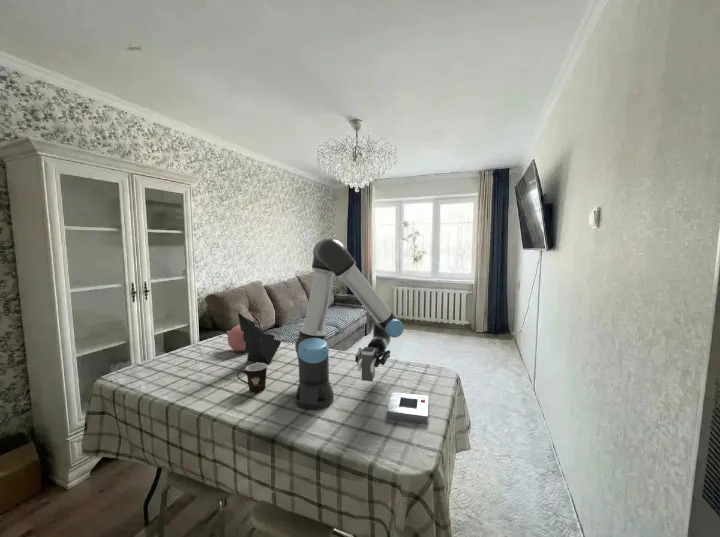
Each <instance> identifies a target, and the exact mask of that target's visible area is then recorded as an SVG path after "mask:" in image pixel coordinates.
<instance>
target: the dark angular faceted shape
mask: <svg viewBox="0 0 720 537" xmlns="http://www.w3.org/2000/svg"><path fill="white" fill-rule="evenodd" d="M237 315H238V322H239V325H240V328H241V331H242V332H244V333H243V338H244V342H246V345H245V351H243V353H245V354H247V358H246V361H247V360H248V361H253V362H252V363H255V362H258V363H265V364H267V365H268V364H269V365H270V364H271V363H272V360H273V358H274V357H275V355H276V353H277V351H278V349H279V347H280V345H281V344H282V342H283V341H282V340H281V341H280V340H278V339H275V337H276V336H275V335H273V334H271V333H265V330H263V329H261V328H260V327H259V326H257V323H256V322H254V321H253V320H251V319H249V318H247V317H245V316H243V315H242V314H241V313H240V312H237ZM248 361H247V362H248Z"/></svg>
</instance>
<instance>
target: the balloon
mask: <svg viewBox="0 0 720 537" xmlns="http://www.w3.org/2000/svg"><path fill="white" fill-rule="evenodd" d="M243 333H244V332H242V331H241V328H240V324H237V325H235V326H234V327H233V328H231V330H227V331H226V333H225V334H226V336H227V343H228V345H229V347H230V348H231V349H232V350H233V351H237V352H244V351H245V345H246V342H244V338H243Z"/></svg>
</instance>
